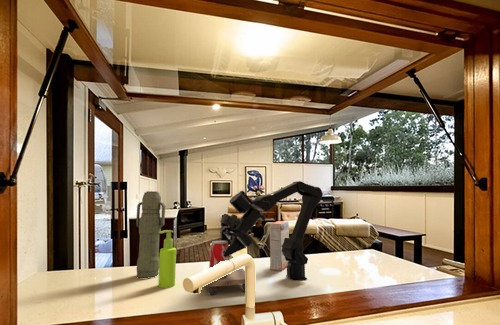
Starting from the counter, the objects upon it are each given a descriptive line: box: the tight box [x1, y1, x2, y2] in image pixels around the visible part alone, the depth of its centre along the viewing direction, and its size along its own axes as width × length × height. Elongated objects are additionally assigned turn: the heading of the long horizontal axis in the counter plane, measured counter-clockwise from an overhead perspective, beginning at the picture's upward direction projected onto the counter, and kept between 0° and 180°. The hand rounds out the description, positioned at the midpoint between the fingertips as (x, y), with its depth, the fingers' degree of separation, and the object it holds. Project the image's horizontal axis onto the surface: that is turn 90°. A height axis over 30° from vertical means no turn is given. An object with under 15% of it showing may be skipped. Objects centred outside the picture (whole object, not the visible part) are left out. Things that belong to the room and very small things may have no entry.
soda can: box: [209, 239, 230, 278], centre depth 97 cm, size 7×7×12 cm
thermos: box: [135, 190, 166, 279], centre depth 116 cm, size 9×12×35 cm
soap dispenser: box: [157, 229, 177, 289], centre depth 101 cm, size 6×7×20 cm
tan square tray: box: [205, 268, 246, 296], centre depth 98 cm, size 16×14×4 cm
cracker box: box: [268, 220, 290, 272], centre depth 130 cm, size 14×6×21 cm, turn 157°
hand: (219, 253), depth 98 cm, fingers open, 9 cm apart
